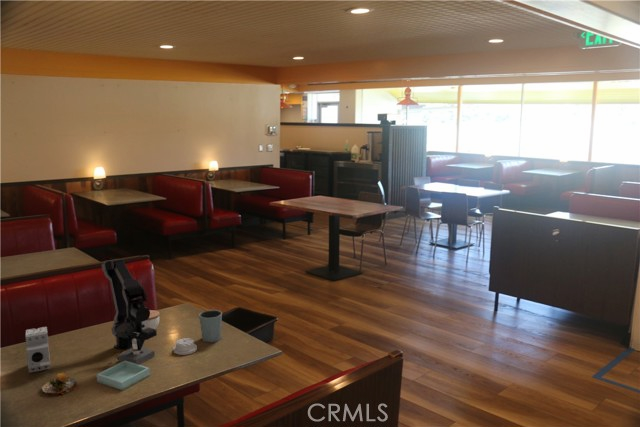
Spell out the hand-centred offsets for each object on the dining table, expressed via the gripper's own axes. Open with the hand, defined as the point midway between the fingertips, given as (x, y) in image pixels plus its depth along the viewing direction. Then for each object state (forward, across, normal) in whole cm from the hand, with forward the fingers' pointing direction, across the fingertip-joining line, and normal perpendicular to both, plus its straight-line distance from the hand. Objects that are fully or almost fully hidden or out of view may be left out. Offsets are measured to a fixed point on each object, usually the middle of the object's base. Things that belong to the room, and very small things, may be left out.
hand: (136, 349), depth 224 cm
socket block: (+4, 0, 0) cm, 4 cm away
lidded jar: (+4, -19, +25) cm, 32 cm away
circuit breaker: (+4, -26, -26) cm, 37 cm away
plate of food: (+4, -6, -32) cm, 33 cm away
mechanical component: (+4, +12, +16) cm, 20 cm away
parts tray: (+4, +9, -15) cm, 18 cm away
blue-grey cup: (+4, +14, +31) cm, 34 cm away
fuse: (+4, 0, 0) cm, 4 cm away
